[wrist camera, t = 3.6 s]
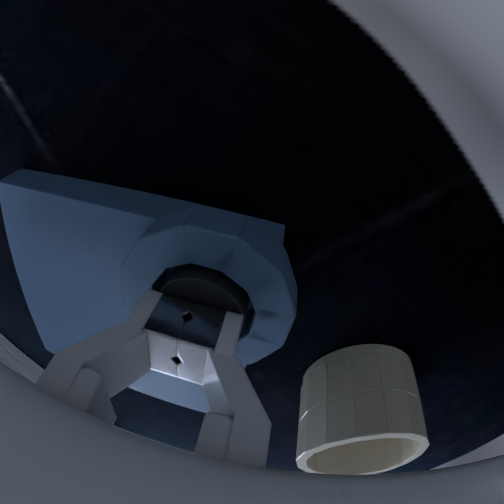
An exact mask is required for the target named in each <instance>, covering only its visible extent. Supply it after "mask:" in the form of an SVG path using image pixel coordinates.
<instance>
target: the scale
mask: <svg viewBox="0 0 504 504" xmlns="http://www.w3.org/2000/svg"><path fill="white" fill-rule="evenodd" d="M0 203H1V209H2V214H3V219H4V224H5V229H6V233H7V238H8V242H9V246H10V250H11V254H12V257H13V261H14V265H15V268H16V271H17V275H18V278H19V281H20V284H21V287H22V290H23V293H24V296H25V299H26V302H27V305H28V307H29V310H30V313H31V315H32V318H33V320H34V323H35V325H36V328H37V330H38V332H39V335H40V337H41V339H42V342H43V344H44V346H45V348H46V350H48V351H50V352H52V353H53V354H56V353H57V351H60V350H62V349H64V348H66V347H68V346H71V345H73V344H75V343H77V342H79V341H81V340H84V339H86V338H88V337H90V336H92V335H95V334H97V333H99V332H101V331H103V330H105V329H108V328H110V327H112V326H114V325H116V324H118V323H124V324H125V323H126V321H127V320H128V318H129V317H130V315H131V313H132V312H133V310H134V309H135V307H136V306H137V304H138V302H139V301H140V299H141V298H142V296H143V295H144V293H145V292H146V291H147V290H148V289H152V290H155V291H158V292H160V290H161V288H162V287H163V285H164V283H165V282H166V280H167V279H168V277H169V275H170V274H171V272H172V270H173V269H174V267H176V266H180V265H185V264H190V263H193V264H196V265H200V266H204V267H208V268H212V269H215V270H219V271H222V272H223V273H224V274H225V275H227V276H228V277H229V278H230V279H232V280H233V281H234V282H235V283H237V284H238V285H239V286H241V287H242V288H243V289H244V290H246V291H247V293H248V296H249V298H250V300H249V305H248V309H247V313H246V317H245V321H244V325H243V328H242V330H241V332H240V334H239V338H238V342H237V346H236V350H235V354H234V357H237V358H239V359H240V362H241V364H242V366H243V368H244V370H245V367H246V364H251V363H255V362H257V361H259V360H260V359H262V358H264V357H266V356H267V355H269V354H271V353H272V352H274V351H276V350H278V349H279V348H281V347H282V346H283V345H284V343H285V341H286V338H287V336H288V334H289V331H290V329H291V327H292V324H293V322H294V319H295V317H296V308H297V284H296V281H295V277H294V274H293V271H292V268H291V264H290V261H289V258H288V255H287V252H286V251H285V248H284V247H283V241H284V232H285V225H283V224H279V223H276V222H272V221H268V220H264V219H260V218H256V217H251V216H247V215H243V214H239V213H235V212H231V211H227V210H222V209H218V208H214V207H210V206H205V205H201V204H197V203H192V202H188V201H184V200H179V199H175V198H170V197H166V196H161V195H156V194H152V193H147V192H142V191H138V190H133V189H128V188H123V187H118V186H113V185H108V184H103V183H98V182H93V181H88V180H83V179H78V178H72V177H67V176H61V175H56V174H50V173H45V172H39V171H33V170H27V169H20V170H18V171H16V172H14V173H12V174H10V175H8V176H7V177H5V178H3V179H1V180H0ZM127 387H128V388H131V389H134V390H136V391H139V392H142V393H144V394H147V395H150V396H153V397H156V398H159V399H162V400H165V401H168V402H171V403H174V404H177V405H180V406H184V407H187V408H190V409H194V410H197V411H201V412H205V413H209V412H211V411H210V408H209V405H208V402H207V398H206V395H205V392H204V389H203V385H200V384H196V383H193V382H190V381H187V380H184V379H181V378H178V377H175V376H171V375H168V374H164V373H161V372H158V371H154V370H151V369H150V371H149V372H148V373H146V374H145V375H143V376H142V377H140V378H139V379H138V380H136V381H135V382H133V383H132V384H130V385H129V386H127Z"/></svg>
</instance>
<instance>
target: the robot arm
mask: <svg viewBox="0 0 504 504" xmlns="http://www.w3.org/2000/svg"><path fill="white" fill-rule="evenodd" d="M242 321H243V315H242V314H238V313H234V312H230V311H225V310H221V309H217V308H214V307H210V306H206V305H202V304H198V303H194V302H190V301H187V300H184V299H181V298H178V297H174V296H171V295H168V294H165V293H161V292H158V291H155V290H152V289H148V290H147V291H146V292H145V293H144V295H143V296H142V298H141V299H140V301H139V302H138V304H137V306H136V307H135V309H134V310H133V312H132V313H131V315H130V317H129V318H128V320H127V321H126V323H125V324H124V323H118V324H116V325H114V326H112V327H110V328H108V329H105V330H103V331H101V332H99V333H97V334H95V335H92V336H90V337H88V338H86V339H84V340H81V341H79V342H77V343H75V344H73V345H71V346H68V347H66V348H64V349H62V350H60V351H57V353H56V354H55V356H54V357H53V358H52V360H51V361H50V363H49V364H48V366H47V367H46V369H45V370H44V372H43V373H42V375H41V376H40V378H39V379H38V381H37V382H36V384H34V383H32V382H31V381H29V380H27V379H26V378H24V377H23V376H21V375H20V374H18V373H17V372H15V371H14V370H12V369H11V368H9V367H8V366H6V365H5V364H4V363H2V362H1V361H0V504H504V455H500V456H497V457H493V458H490V459H485V460H481V461H477V462H472V463H468V464H463V465H458V466H453V467H446V468H440V469H433V470H425V471H417V472H406V473H393V474H368V475H346V474H321V473H307V472H297V471H287V470H279V469H272V468H265V466H266V460H267V453H268V446H269V438H270V431H271V422H270V420H269V418H268V416H267V414H266V412H265V410H264V408H263V406H262V404H261V402H260V400H259V398H258V396H257V394H256V392H255V390H254V388H253V386H252V384H251V382H250V380H249V378H248V376H247V374H246V372H245V370H244V368H243V366H242V364H241V362H240V359H239V358H237V357H234V354H235V350H236V346H237V342H238V338H239V333H240V329H241V325H242ZM150 369H151V370H154V371H158V372H161V373H164V374H168V375H171V376H175V377H178V378H181V379H184V380H187V381H190V382H193V383H196V384H200V385H203V389H204V392H205V395H206V398H207V402H208V405H209V408H210V411H211V412H209V413H207V414H205V417H204V420H203V424H202V427H201V430H200V433H199V437H198V440H197V443H196V447H195V450H194V452H191V451H187V450H184V449H180V448H177V447H174V446H171V445H167V444H164V443H161V442H158V441H155V440H153V439H150V438H147V437H144V436H141V435H139V434H136V433H133V432H131V431H128V430H126V429H123V428H121V427H118V426H116V425H114V423H115V421H116V418H117V416H116V414H115V411H114V409H113V406H112V404H111V401H110V398H111V397H113V396H114V395H116V394H117V393H119V392H120V391H122V390H123V389H125V388H126V387H127V386H129V385H130V384H132V383H133V382H135V381H136V380H138V379H139V378H140V377H142V376H143V375H145V374H146V373H148V372H149V371H150Z"/></svg>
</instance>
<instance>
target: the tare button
mask: <svg viewBox="0 0 504 504" xmlns="http://www.w3.org/2000/svg"><path fill="white" fill-rule="evenodd" d="M160 292H161V293H165V294H168V295H171V296H174V297H178V298H181V299H184V300H187V301H190V302H194V303H198V304H202V305H206V306H210V307H214V308H217V309H221V310H225V311H230V312H234V313H238V314H242V315H243V321H242V325H241V329H240V332H241V330H242V328H243V325H244V321H245V317H246V313H247V309H248V305H249V300H250V298H249V296H248V293H247V291H246V290H244V289H243V288H242V287H241V286H239V285H238V284H237V283H235V282H234V281H233V280H232V279H230V278H229V277H228V276H227V275H225V274H224V273H223V272H222V271H219V270H215V269H212V268H208V267H204V266H200V265H196V264H193V263H190V264H185V265H180V266H176V267H174V269H173V270H172V272H171V274H170V275H169V277H168V279H167V280H166V282H165V283H164V285H163V287H162V288H161V290H160ZM239 334H240V333H239Z"/></svg>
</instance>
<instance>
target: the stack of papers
mask: <svg viewBox="0 0 504 504" xmlns="http://www.w3.org/2000/svg"><path fill="white" fill-rule="evenodd" d="M0 361H1V362H2V363H4V364H5V365H6V366H8V367H9V368H11V369H12V370H14V371H15V372H17V373H18V374H20V375H21V376H23V377H24V378H26V379H27V380H29V381H31V382H32V383H34V384H36V382H37V381H38V379H39V378H40V376H41V375H42V373H43V372H44V369H43V368H42V367H40V366H39V365H38V364H36V363H35V362H34V361H33V360H31V359H30V358H29V357H28V356H26V355H25V354H24V353H23V352H22V351H20V350H19V349H18V348H17V347H16V346H14V345H13V344H12V343H11V342H10V341H9V340H8V339H6V338H5V337H4V336H3V335H2V334H1V333H0Z"/></svg>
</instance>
